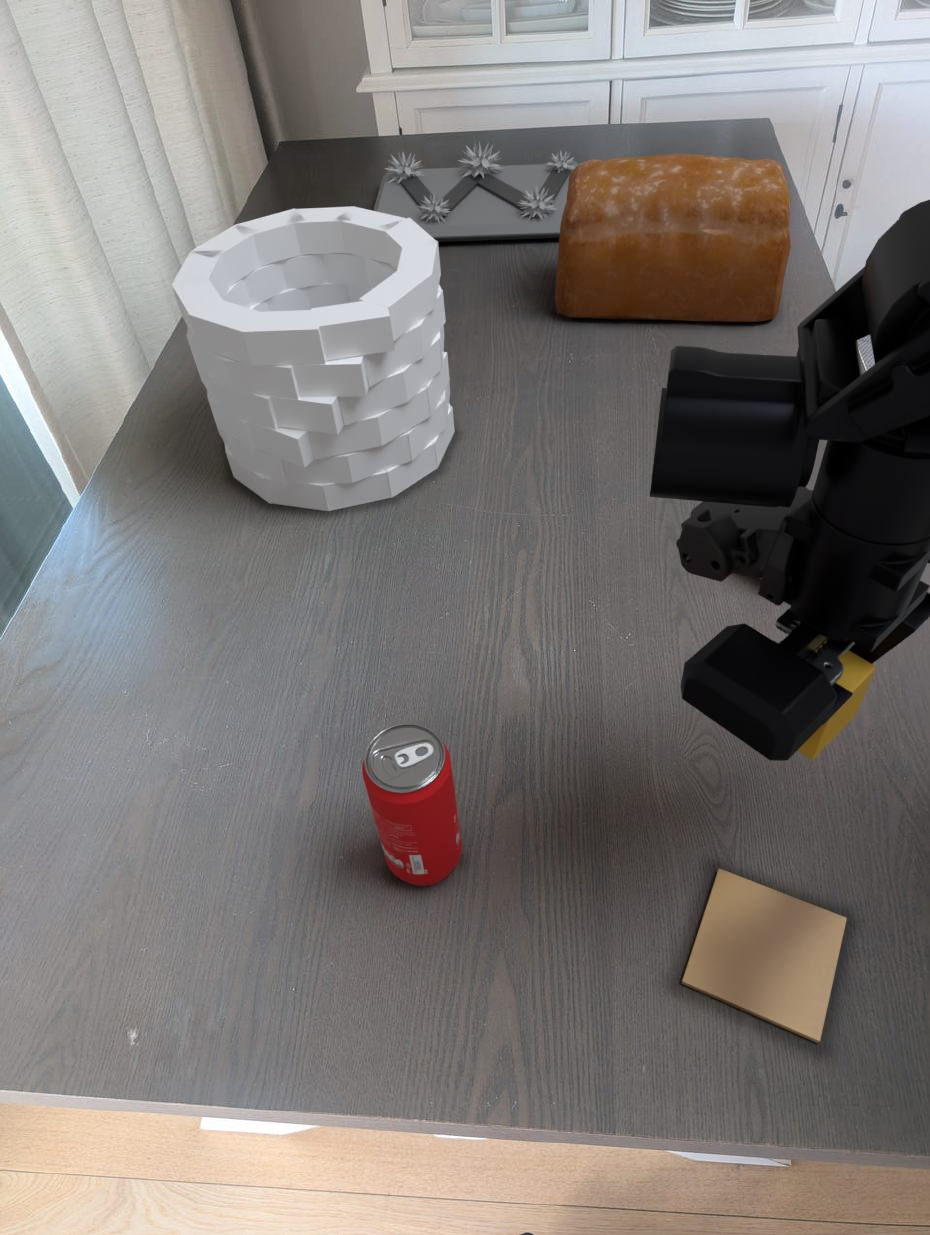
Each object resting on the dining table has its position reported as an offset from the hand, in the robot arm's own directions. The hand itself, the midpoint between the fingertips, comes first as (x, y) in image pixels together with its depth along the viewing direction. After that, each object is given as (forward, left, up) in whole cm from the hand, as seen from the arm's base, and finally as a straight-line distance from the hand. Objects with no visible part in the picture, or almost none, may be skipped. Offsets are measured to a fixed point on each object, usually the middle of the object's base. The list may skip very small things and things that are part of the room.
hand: (804, 709), depth 52 cm
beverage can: (+20, +12, -12) cm, 26 cm away
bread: (+28, -65, -12) cm, 72 cm away
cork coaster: (-2, +9, -12) cm, 15 cm away
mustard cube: (0, 0, -1) cm, 1 cm away
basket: (+50, -26, -12) cm, 57 cm away
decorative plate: (+60, -80, -12) cm, 100 cm away
